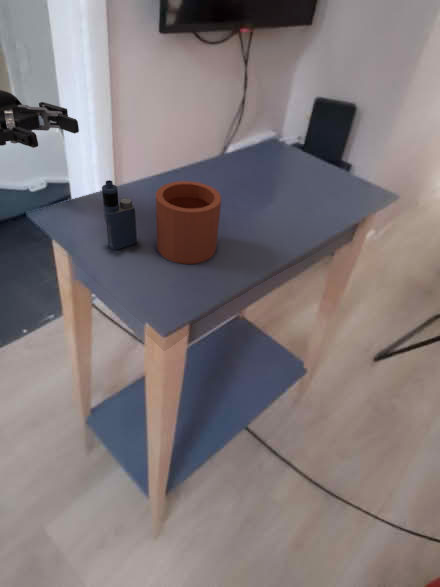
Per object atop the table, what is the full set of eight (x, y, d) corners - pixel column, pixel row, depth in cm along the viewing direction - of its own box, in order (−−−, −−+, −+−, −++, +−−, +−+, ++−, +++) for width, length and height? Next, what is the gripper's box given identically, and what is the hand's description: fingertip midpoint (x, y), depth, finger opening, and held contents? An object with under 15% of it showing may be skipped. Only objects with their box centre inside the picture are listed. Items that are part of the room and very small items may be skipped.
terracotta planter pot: (196, 271, 65) (199, 219, 59) (144, 249, 68) (142, 197, 62) (226, 243, 72) (232, 193, 66) (178, 224, 76) (179, 175, 69)
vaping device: (105, 244, 69) (97, 179, 61) (132, 236, 71) (128, 173, 63) (111, 251, 67) (104, 186, 59) (139, 243, 70) (136, 180, 62)
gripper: (-61, 93, 60) (13, 119, 55) (17, 78, 70) (86, 99, 65) (-44, 142, 65) (26, 170, 60) (26, 122, 75) (91, 144, 70)
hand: (57, 133), depth 63 cm, fingers open, 8 cm apart
